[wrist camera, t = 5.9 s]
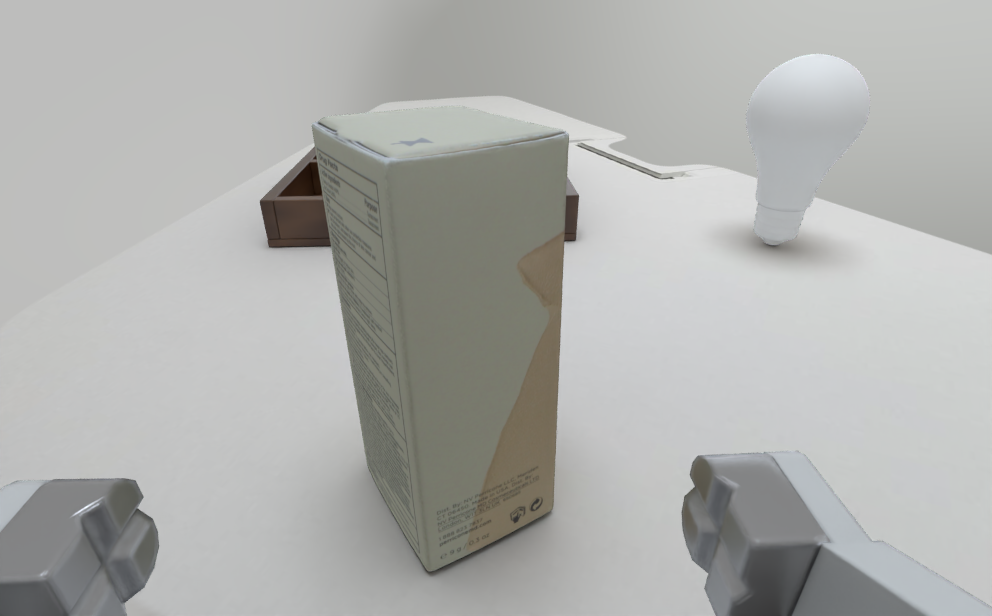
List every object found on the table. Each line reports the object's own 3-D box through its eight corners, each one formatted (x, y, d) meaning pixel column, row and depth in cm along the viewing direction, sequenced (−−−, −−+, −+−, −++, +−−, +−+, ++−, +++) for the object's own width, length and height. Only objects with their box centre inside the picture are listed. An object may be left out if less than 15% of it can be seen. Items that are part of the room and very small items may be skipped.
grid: (268, 247, 35) (259, 200, 33) (331, 167, 52) (326, 134, 50) (575, 240, 36) (579, 195, 34) (538, 164, 53) (539, 131, 51)
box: (557, 514, 17) (586, 131, 11) (424, 581, 15) (384, 158, 9) (472, 415, 21) (464, 98, 15) (359, 458, 19) (305, 112, 13)
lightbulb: (701, 232, 37) (735, 51, 32) (777, 223, 39) (821, 49, 33) (764, 269, 32) (818, 60, 27) (849, 257, 33) (916, 57, 28)
